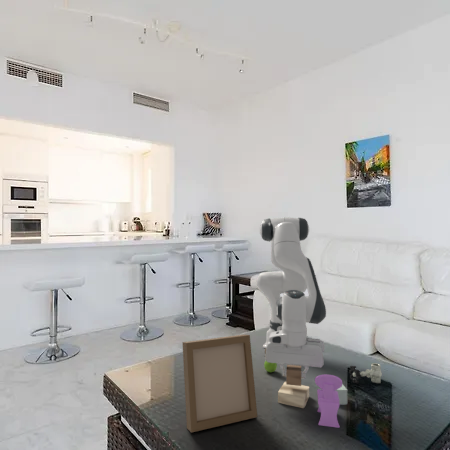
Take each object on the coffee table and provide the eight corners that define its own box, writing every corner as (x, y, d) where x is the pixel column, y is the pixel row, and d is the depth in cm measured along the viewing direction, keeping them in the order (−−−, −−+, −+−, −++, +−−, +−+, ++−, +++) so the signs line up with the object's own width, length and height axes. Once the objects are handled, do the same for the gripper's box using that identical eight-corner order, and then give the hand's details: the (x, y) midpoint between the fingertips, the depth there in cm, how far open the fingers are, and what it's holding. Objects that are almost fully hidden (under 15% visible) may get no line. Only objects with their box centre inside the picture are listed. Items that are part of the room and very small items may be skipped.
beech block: (284, 392, 127) (284, 381, 127) (309, 397, 123) (309, 386, 123) (277, 403, 119) (277, 391, 119) (303, 409, 115) (303, 397, 115)
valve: (375, 377, 141) (348, 379, 139) (375, 361, 141) (348, 362, 139) (385, 384, 134) (357, 386, 132) (385, 367, 134) (357, 369, 132)
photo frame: (257, 420, 108) (258, 340, 108) (191, 436, 99) (192, 348, 100) (237, 398, 121) (237, 327, 122) (177, 411, 113) (178, 334, 113)
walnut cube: (287, 378, 124) (287, 364, 124) (301, 380, 123) (301, 365, 123) (286, 384, 119) (286, 369, 119) (301, 386, 118) (301, 371, 118)
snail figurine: (279, 375, 142) (279, 346, 142) (263, 373, 143) (263, 344, 143) (279, 370, 147) (279, 342, 147) (264, 368, 148) (264, 340, 148)
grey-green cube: (328, 397, 123) (328, 383, 123) (342, 397, 123) (342, 383, 123) (332, 404, 118) (333, 389, 118) (347, 404, 118) (347, 390, 118)
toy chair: (340, 413, 112) (340, 367, 112) (343, 428, 104) (343, 378, 104) (314, 410, 114) (314, 364, 114) (314, 424, 106) (315, 375, 106)
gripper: (324, 336, 122) (324, 376, 122) (266, 332, 127) (266, 370, 127) (325, 342, 116) (325, 383, 116) (264, 337, 121) (264, 377, 120)
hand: (293, 376), depth 121 cm, fingers closed on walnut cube, 5 cm apart
